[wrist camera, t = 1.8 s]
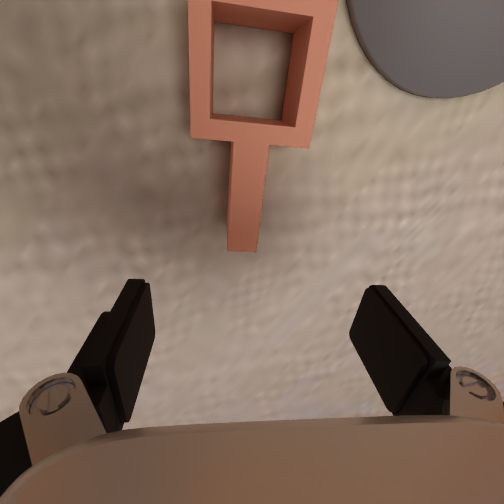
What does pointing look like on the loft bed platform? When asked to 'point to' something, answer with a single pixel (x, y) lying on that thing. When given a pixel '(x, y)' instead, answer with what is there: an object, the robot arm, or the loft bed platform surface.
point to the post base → (433, 43)
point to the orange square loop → (256, 129)
